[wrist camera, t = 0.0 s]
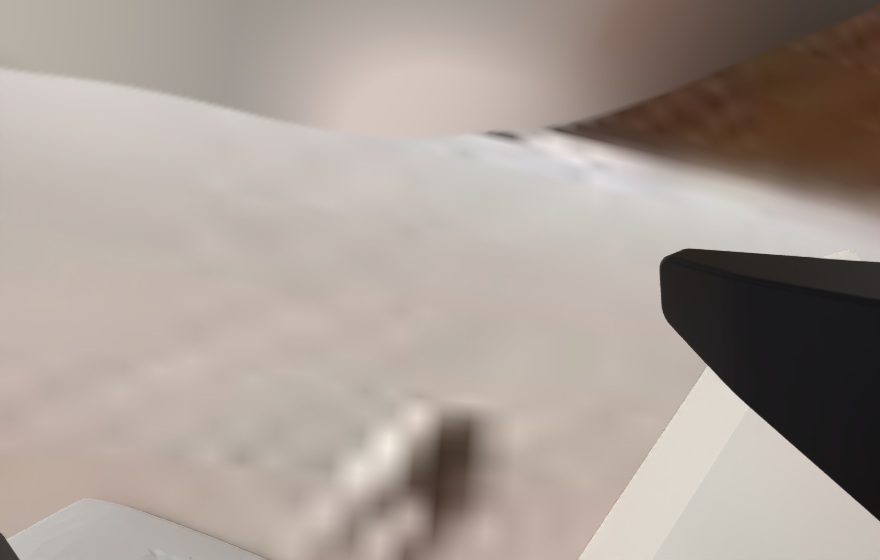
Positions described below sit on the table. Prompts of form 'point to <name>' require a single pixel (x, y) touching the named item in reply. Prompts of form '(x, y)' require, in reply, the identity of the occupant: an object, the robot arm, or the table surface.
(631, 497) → the console
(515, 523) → the table surface
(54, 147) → the table surface
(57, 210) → the table surface
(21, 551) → the photo printer
